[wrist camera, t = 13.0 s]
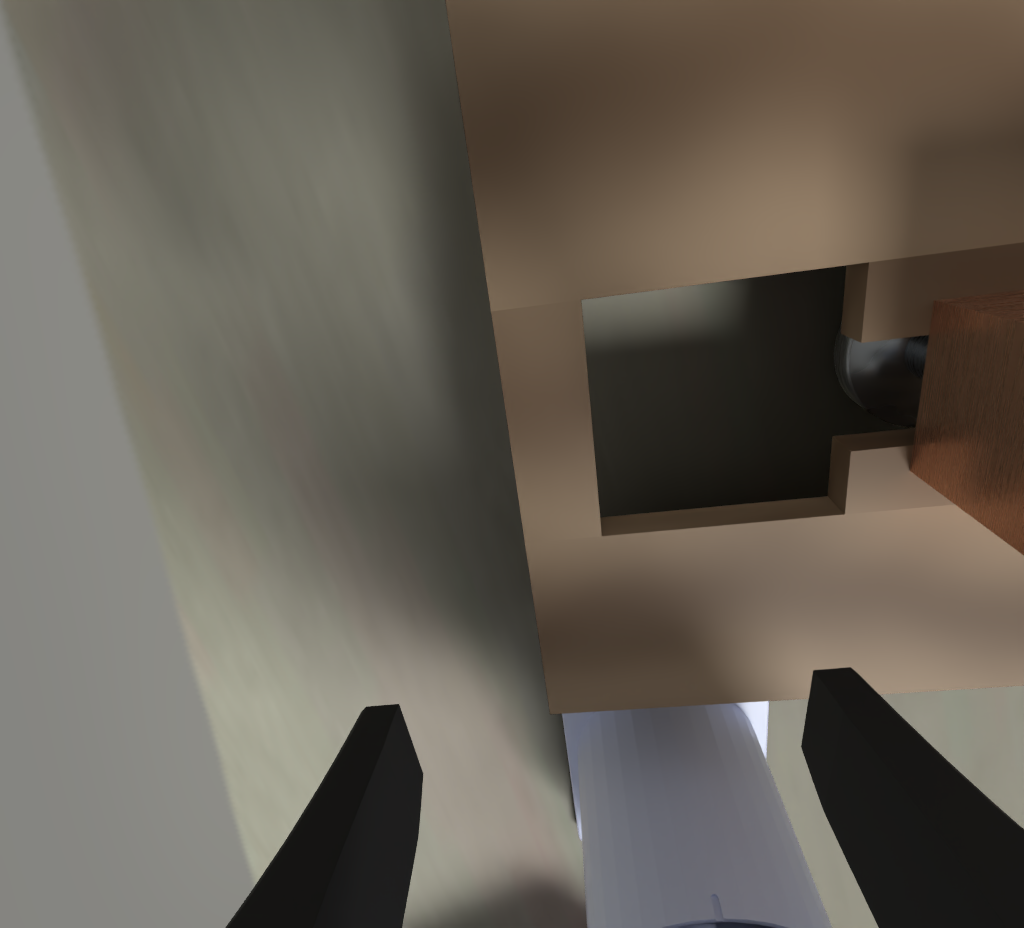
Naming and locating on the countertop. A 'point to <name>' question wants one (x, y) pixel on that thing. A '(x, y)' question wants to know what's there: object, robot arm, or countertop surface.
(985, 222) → the keyhole board
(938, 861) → the robot arm
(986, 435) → the brown piece
